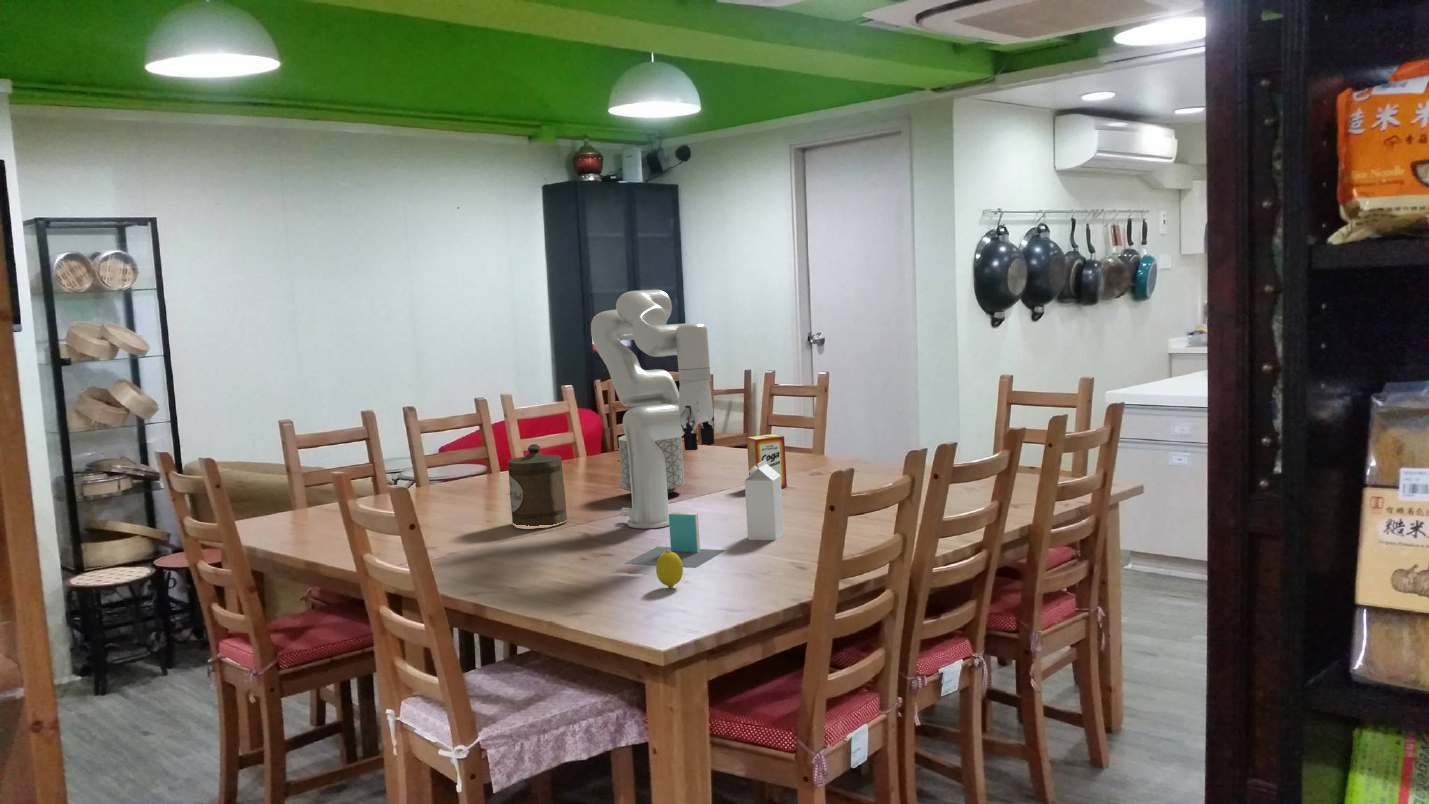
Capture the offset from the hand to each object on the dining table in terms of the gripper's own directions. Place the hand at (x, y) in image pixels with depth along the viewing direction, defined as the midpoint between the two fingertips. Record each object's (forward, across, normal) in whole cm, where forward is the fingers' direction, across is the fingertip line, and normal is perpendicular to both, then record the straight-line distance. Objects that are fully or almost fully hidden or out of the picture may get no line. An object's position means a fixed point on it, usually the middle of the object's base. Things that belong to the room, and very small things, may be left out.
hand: (699, 447), depth 262 cm
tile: (+23, +10, -1) cm, 25 cm away
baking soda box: (+23, -72, -11) cm, 76 cm away
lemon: (+25, +37, +8) cm, 45 cm away
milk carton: (+24, -8, +12) cm, 28 cm away
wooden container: (+23, -14, -57) cm, 63 cm away
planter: (+22, -56, -43) cm, 74 cm away
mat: (+24, +15, -1) cm, 28 cm away
